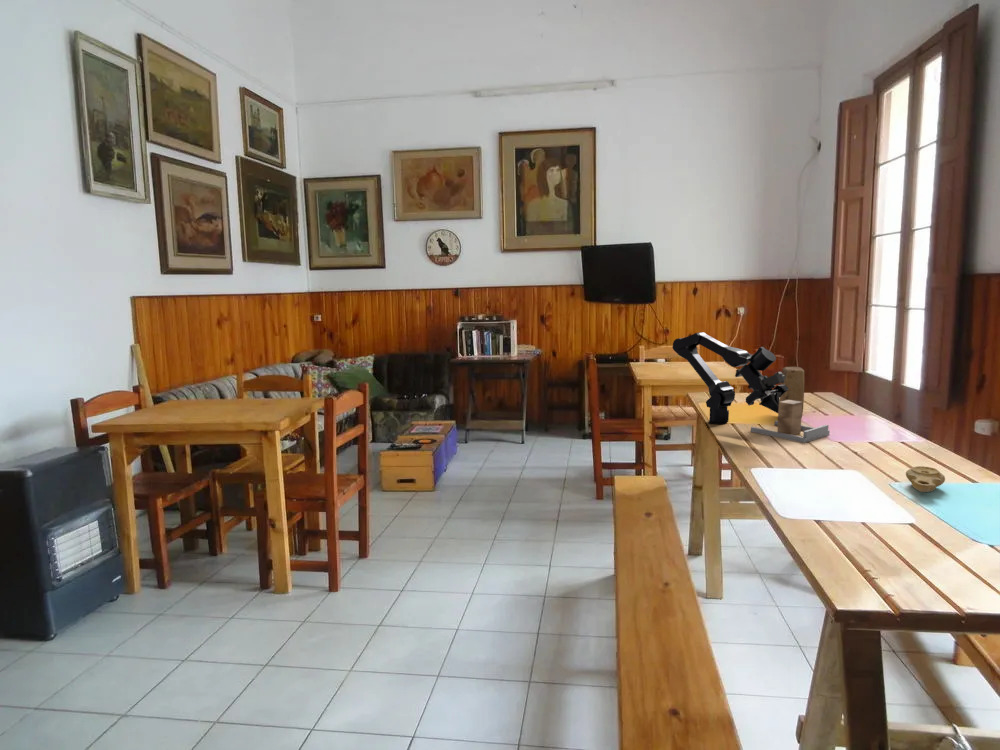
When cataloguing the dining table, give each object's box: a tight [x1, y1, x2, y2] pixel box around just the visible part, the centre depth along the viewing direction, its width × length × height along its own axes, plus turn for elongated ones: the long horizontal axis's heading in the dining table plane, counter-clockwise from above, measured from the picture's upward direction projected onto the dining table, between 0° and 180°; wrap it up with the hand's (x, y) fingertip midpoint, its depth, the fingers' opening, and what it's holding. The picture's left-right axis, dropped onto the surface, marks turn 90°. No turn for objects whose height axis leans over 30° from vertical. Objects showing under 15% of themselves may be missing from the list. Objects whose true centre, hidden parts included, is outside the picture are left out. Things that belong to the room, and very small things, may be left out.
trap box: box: [750, 419, 831, 444], centre depth 218 cm, size 19×16×5 cm
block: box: [779, 366, 805, 419], centre depth 245 cm, size 11×8×20 cm
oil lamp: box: [905, 465, 946, 493], centre depth 164 cm, size 11×14×5 cm
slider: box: [776, 400, 803, 436], centre depth 217 cm, size 5×6×11 cm
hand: (782, 413), depth 219 cm, fingers closed, pressing on slider
